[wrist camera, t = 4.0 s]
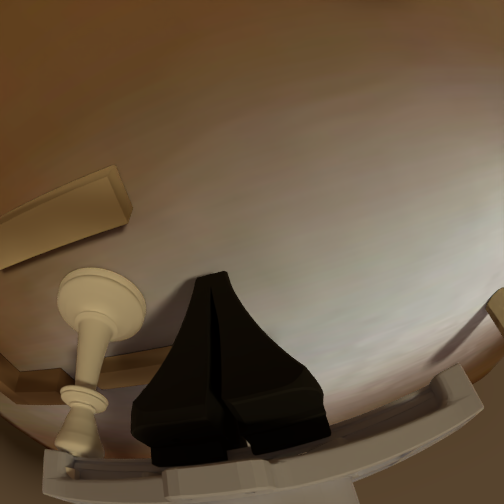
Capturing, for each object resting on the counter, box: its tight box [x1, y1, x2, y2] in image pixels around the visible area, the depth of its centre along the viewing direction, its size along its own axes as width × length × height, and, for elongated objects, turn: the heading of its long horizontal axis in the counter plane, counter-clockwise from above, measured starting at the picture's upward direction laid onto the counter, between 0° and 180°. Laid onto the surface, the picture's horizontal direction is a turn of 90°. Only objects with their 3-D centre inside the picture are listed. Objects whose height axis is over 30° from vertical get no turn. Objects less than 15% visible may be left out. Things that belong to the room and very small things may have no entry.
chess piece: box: [55, 268, 146, 480], centre depth 10 cm, size 5×5×10 cm
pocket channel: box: [0, 165, 173, 390], centre depth 14 cm, size 13×8×1 cm, turn 11°
